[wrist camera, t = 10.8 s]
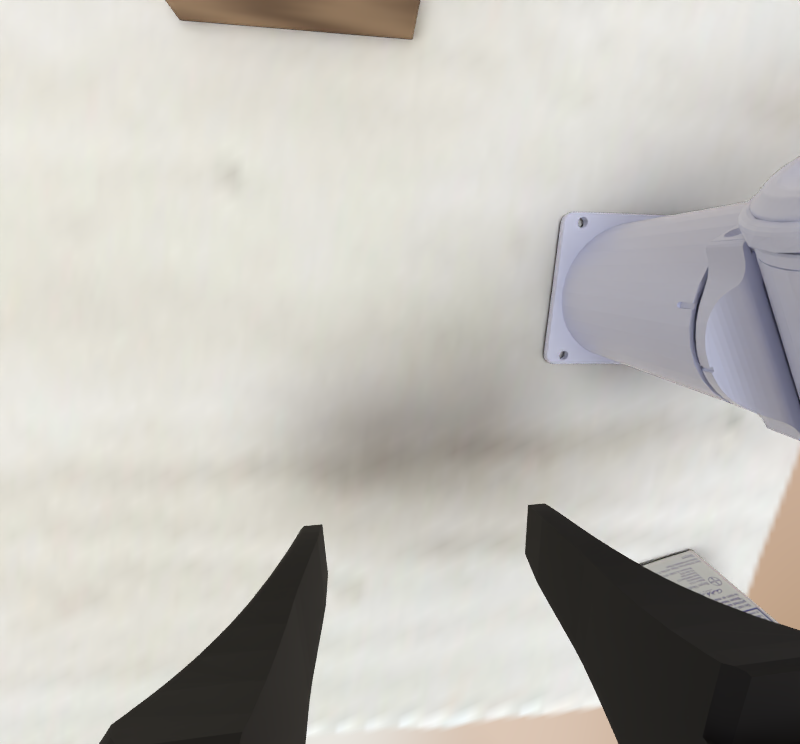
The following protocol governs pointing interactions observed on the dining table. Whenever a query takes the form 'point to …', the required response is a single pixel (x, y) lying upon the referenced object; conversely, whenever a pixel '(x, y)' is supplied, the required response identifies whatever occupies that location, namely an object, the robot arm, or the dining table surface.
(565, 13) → the dining table surface
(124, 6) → the dining table surface
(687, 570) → the medicine box
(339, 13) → the walnut block
